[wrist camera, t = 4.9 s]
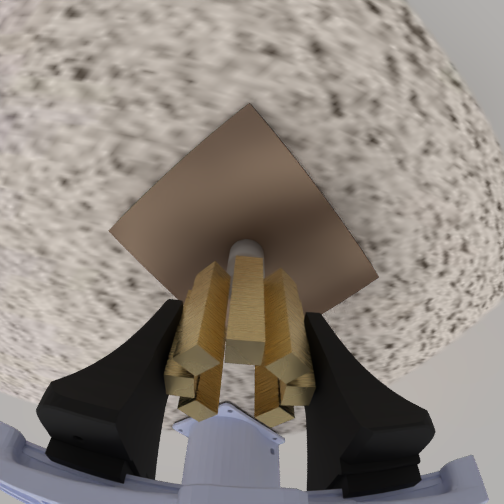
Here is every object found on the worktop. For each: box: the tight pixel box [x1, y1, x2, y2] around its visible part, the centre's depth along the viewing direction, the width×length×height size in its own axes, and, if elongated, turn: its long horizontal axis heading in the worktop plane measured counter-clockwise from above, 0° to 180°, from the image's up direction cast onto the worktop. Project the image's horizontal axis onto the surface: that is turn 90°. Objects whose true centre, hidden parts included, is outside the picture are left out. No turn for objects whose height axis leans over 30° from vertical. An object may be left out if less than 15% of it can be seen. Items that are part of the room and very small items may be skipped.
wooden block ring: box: [164, 255, 316, 428], centre depth 12 cm, size 5×5×5 cm
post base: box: [109, 103, 379, 337], centre depth 18 cm, size 13×11×5 cm
